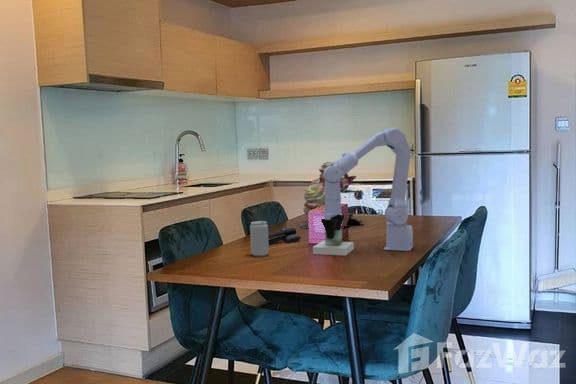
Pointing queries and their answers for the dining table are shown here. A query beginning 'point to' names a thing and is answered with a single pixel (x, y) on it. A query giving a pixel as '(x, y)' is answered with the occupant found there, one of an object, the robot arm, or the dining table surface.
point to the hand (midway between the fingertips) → (333, 236)
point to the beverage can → (259, 238)
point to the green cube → (334, 239)
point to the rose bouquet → (317, 193)
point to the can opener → (288, 236)
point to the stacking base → (333, 249)
